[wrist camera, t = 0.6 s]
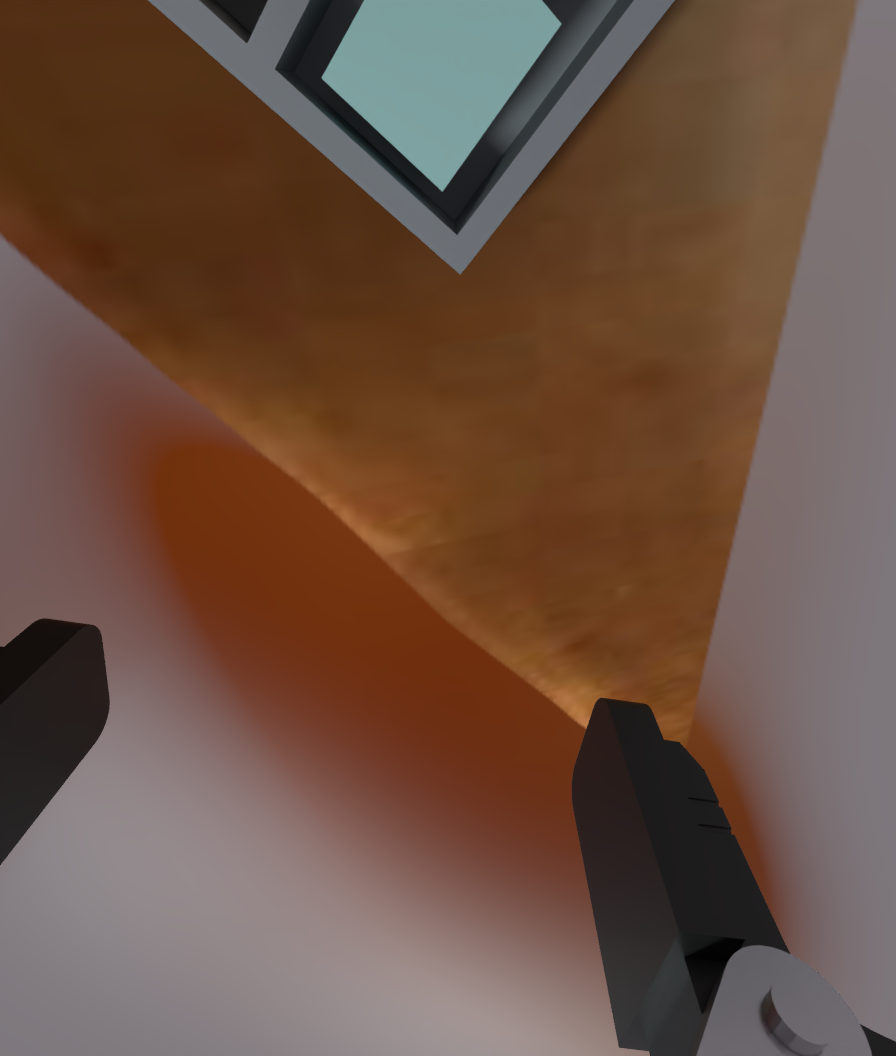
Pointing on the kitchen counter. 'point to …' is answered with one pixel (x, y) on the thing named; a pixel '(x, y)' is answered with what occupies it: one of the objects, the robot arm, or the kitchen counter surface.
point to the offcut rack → (369, 158)
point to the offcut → (437, 71)
